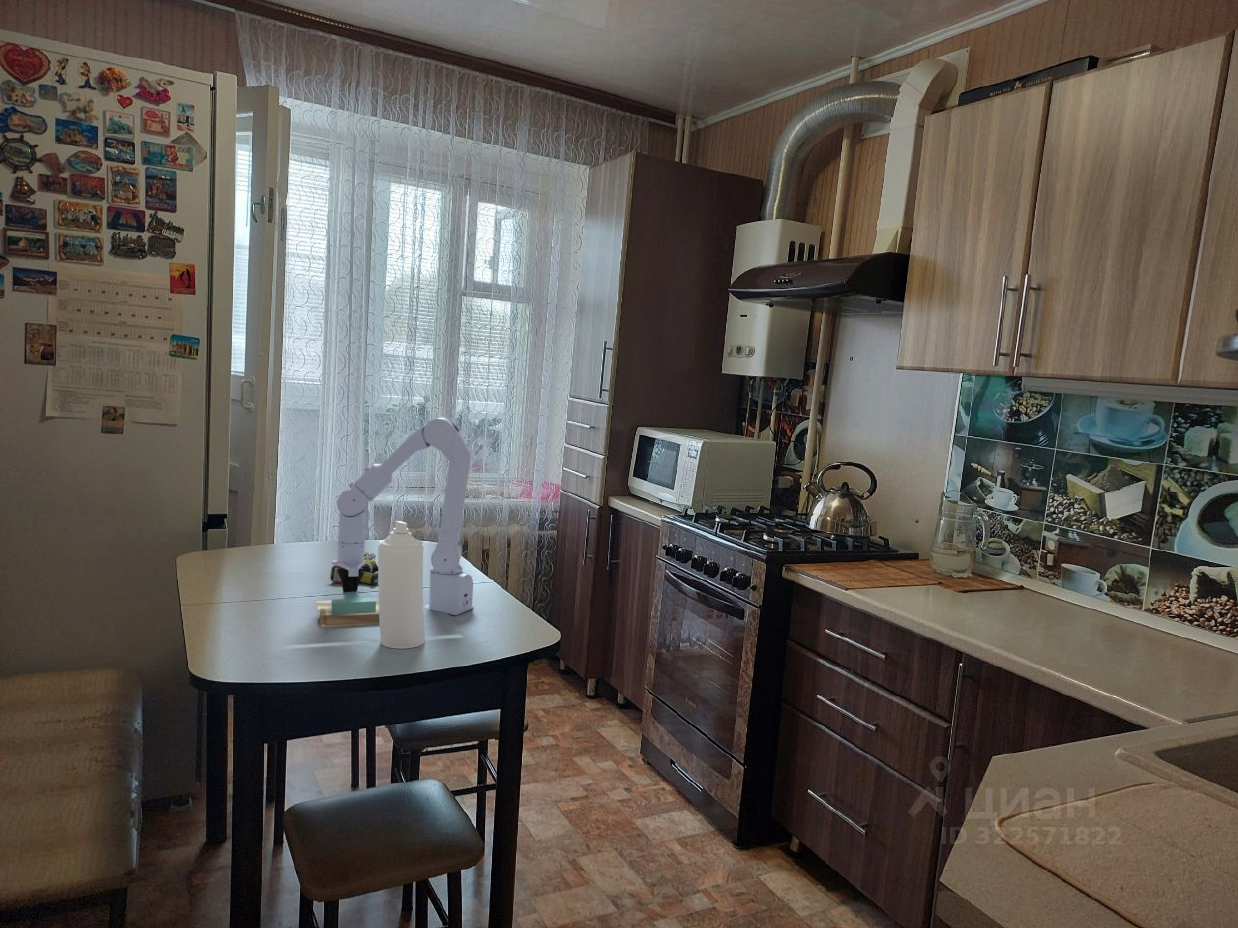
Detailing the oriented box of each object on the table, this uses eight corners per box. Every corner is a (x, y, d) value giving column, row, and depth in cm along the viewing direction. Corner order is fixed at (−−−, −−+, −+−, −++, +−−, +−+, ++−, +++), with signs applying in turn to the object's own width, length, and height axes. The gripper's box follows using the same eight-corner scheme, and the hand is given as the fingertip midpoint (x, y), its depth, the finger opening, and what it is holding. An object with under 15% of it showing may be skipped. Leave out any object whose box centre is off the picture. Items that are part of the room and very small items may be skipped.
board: (315, 603, 186) (316, 592, 186) (379, 600, 192) (379, 589, 191) (321, 629, 168) (321, 617, 168) (391, 625, 173) (391, 613, 173)
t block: (375, 614, 178) (376, 601, 178) (332, 616, 175) (332, 603, 174) (371, 603, 186) (371, 590, 186) (329, 605, 183) (329, 592, 183)
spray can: (436, 649, 160) (441, 524, 158) (382, 656, 154) (387, 526, 152) (416, 632, 170) (421, 514, 167) (365, 638, 164) (369, 515, 161)
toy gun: (416, 559, 226) (363, 550, 226) (389, 574, 202) (330, 564, 202) (414, 575, 226) (361, 566, 227) (386, 593, 202) (327, 583, 203)
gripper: (330, 535, 190) (328, 592, 191) (335, 548, 176) (333, 609, 178) (362, 535, 192) (360, 591, 194) (369, 547, 179) (367, 608, 180)
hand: (349, 600), depth 186 cm, fingers closed
